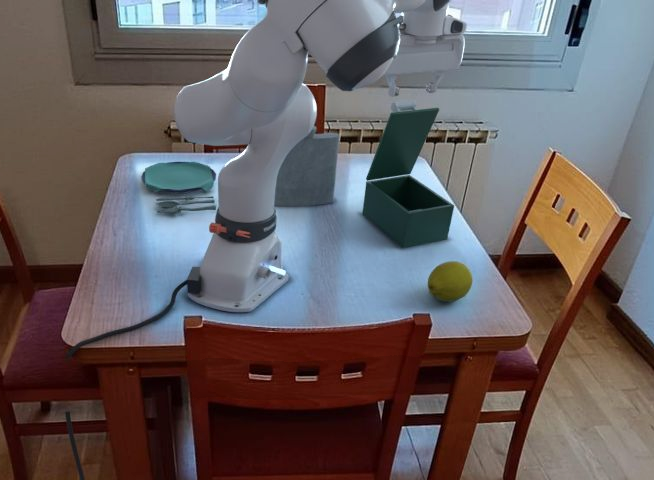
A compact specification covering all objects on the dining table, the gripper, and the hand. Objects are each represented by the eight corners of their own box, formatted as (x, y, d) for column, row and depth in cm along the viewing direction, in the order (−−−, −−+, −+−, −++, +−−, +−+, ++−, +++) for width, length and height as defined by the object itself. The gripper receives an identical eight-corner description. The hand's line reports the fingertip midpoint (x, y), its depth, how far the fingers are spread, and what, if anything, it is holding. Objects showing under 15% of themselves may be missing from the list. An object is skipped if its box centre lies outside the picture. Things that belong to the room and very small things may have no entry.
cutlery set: (213, 166, 176) (212, 158, 175) (224, 213, 153) (224, 204, 151) (141, 169, 173) (140, 161, 171) (141, 217, 149) (140, 208, 148)
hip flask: (331, 197, 163) (338, 122, 151) (336, 204, 160) (343, 127, 148) (272, 201, 159) (274, 124, 148) (275, 208, 156) (278, 130, 145)
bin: (447, 239, 147) (454, 205, 142) (402, 248, 142) (408, 213, 137) (404, 206, 160) (409, 174, 155) (362, 214, 156) (366, 181, 151)
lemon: (453, 283, 131) (461, 250, 126) (478, 302, 125) (487, 268, 120) (412, 294, 126) (418, 260, 122) (435, 314, 121) (443, 280, 116)
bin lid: (439, 109, 139) (427, 93, 142) (392, 114, 135) (380, 98, 137) (410, 174, 155) (399, 158, 157) (366, 180, 150) (357, 165, 153)
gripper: (386, 28, 116) (377, 102, 124) (473, 23, 124) (460, 94, 132) (369, 21, 121) (362, 93, 129) (454, 17, 128) (442, 86, 136)
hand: (412, 93), depth 130 cm, fingers open, 8 cm apart
